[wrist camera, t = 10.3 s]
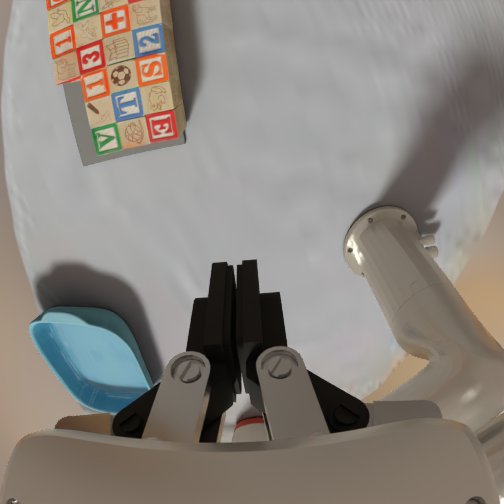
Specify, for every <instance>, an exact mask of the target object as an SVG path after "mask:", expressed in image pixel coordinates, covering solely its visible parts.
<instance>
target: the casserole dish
mask: <svg viewBox="0 0 504 504" xmlns="http://www.w3.org/2000/svg"><path fill="white" fill-rule="evenodd" d="M29 333H30V336H31V339H32V340H33V342H34V344H35V346H36V348H37V349H38V351H39V352H40V354H41V355H42V357H43V358H44V360H45V361H46V363H47V364H48V366H49V367H50V368H51V370H52V371H53V372H54V374H55V375H56V376H57V378H58V379H59V381H60V382H61V383H62V384H63V386H64V387H65V388H66V389H67V391H68V392H69V393H70V394H71V395H72V396H73V397H74V398H75V399H76V400H77V401H78V402H80V403H81V404H83V405H84V406H86V407H88V408H91V409H93V410H96V411H100V412H103V413H111V414H112V415H115V414H117V413H118V412H119V411H120V410H122V409H123V408H125V407H126V406H127V405H129V404H130V403H132V402H133V401H135V400H136V399H137V398H139V397H140V396H142V395H143V394H144V393H146V392H147V391H149V390H150V389H151V388H153V387H154V385H153V382H152V380H151V377H150V375H149V372H148V370H147V368H146V365H145V363H144V361H143V358H142V355H141V353H140V350H139V348H138V345H137V343H136V340H135V338H134V336H133V334H132V333H131V331H130V329H129V327H128V326H127V324H126V323H125V322H124V321H123V319H122V318H120V317H119V316H118V315H117V314H115V313H113V312H111V311H109V310H106V309H102V308H94V307H65V306H60V307H53V308H50V309H48V310H46V311H45V312H43V313H42V314H41V315H39V316H38V317H37V318H36V319H35V320H33V321H32V322H31V323H30V325H29Z"/></svg>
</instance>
